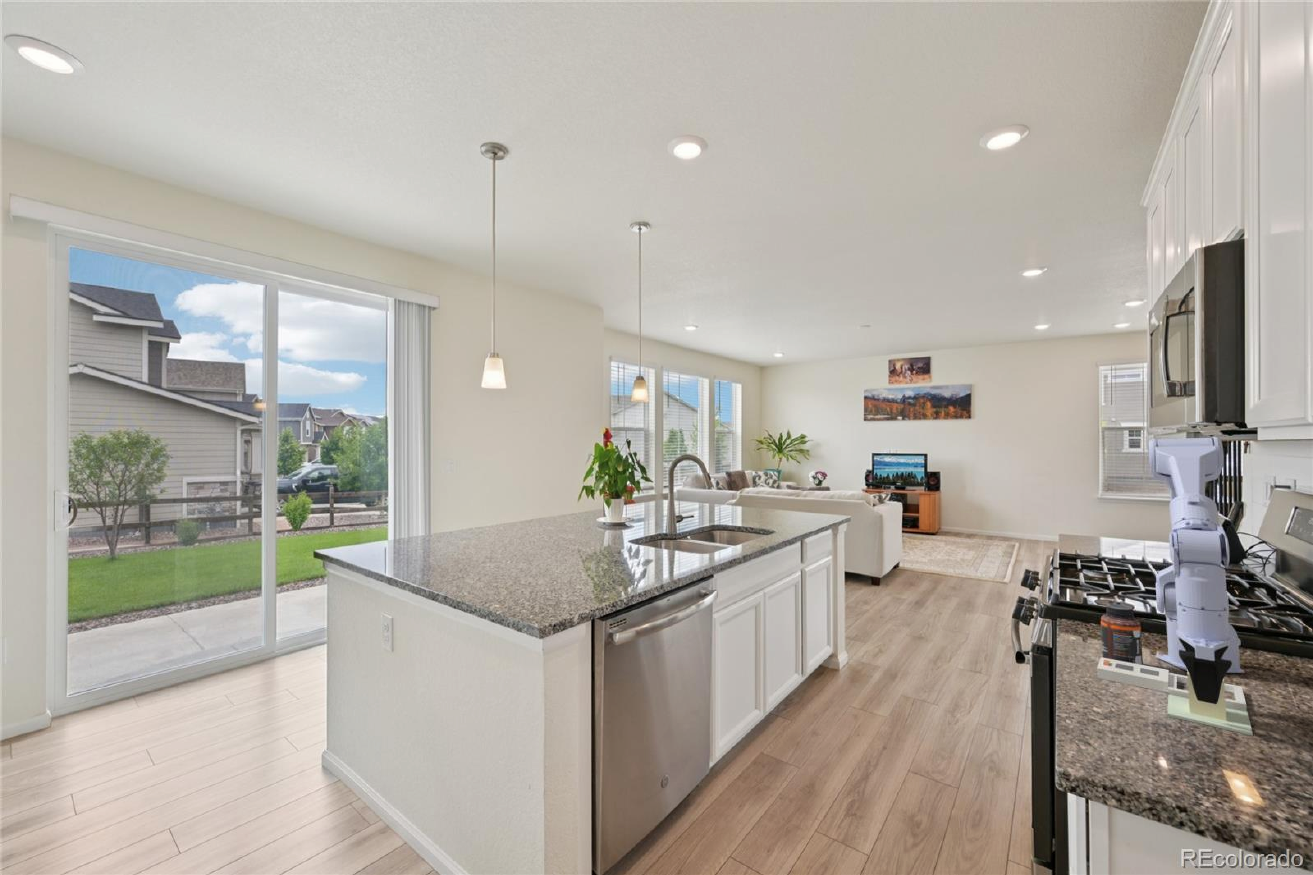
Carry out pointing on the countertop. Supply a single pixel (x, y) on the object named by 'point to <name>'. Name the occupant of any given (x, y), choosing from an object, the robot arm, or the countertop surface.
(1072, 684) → the countertop surface
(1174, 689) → the white slotted frame
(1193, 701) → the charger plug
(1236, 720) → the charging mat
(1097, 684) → the countertop surface
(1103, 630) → the supplement bottle
